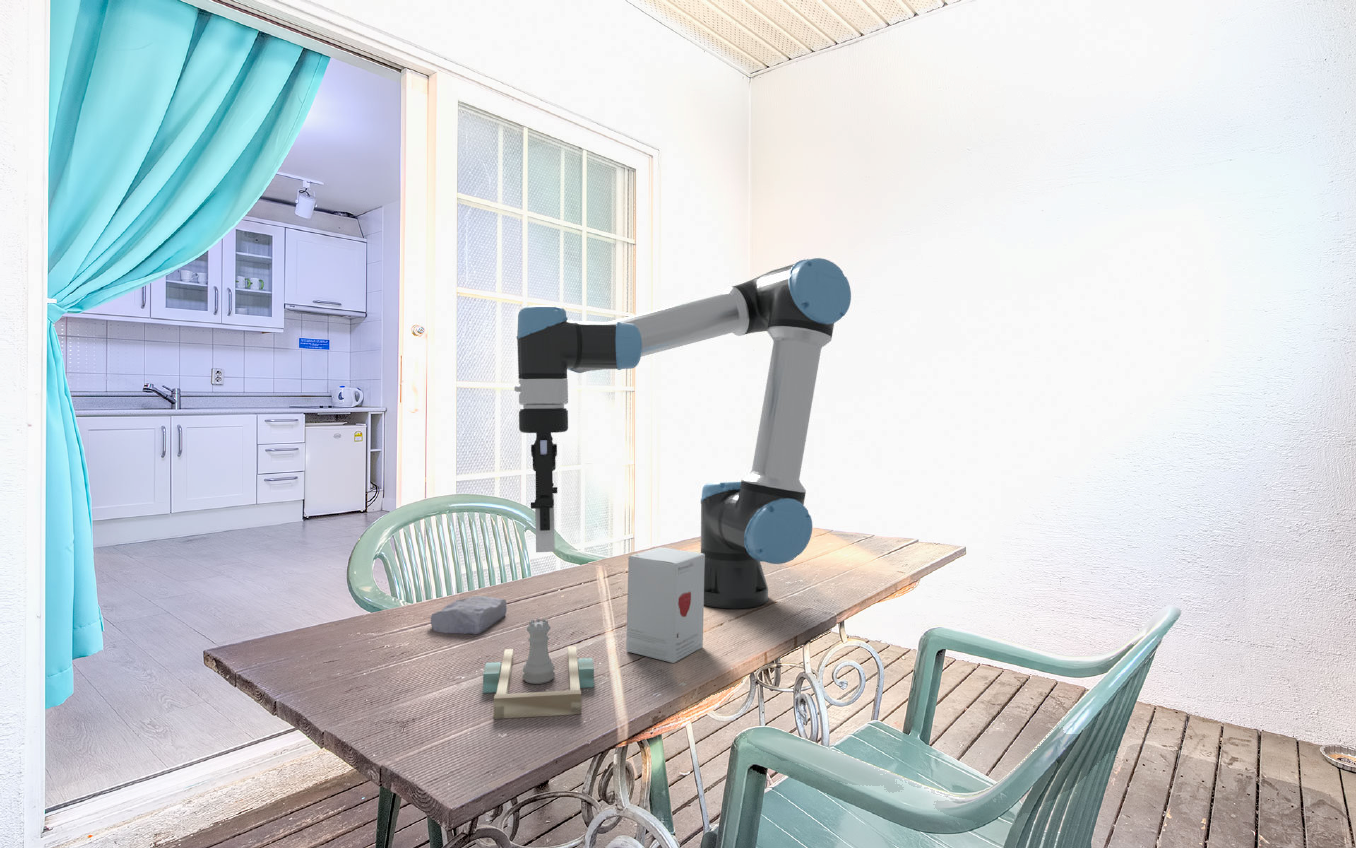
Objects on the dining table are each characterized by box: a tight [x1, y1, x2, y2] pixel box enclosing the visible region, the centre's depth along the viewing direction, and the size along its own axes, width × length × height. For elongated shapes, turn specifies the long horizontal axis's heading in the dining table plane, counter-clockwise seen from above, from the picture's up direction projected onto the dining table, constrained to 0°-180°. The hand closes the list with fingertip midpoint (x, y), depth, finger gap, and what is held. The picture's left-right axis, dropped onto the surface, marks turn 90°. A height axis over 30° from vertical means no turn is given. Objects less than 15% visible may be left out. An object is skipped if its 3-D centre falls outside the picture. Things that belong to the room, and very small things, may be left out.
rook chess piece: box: [522, 618, 556, 685], centre depth 98 cm, size 4×4×8 cm
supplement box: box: [625, 546, 705, 664], centre depth 110 cm, size 9×9×15 cm
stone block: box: [430, 595, 508, 635], centre depth 122 cm, size 12×5×10 cm
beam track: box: [482, 645, 595, 720], centre depth 96 cm, size 20×14×2 cm
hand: (545, 542), depth 111 cm, fingers open, 13 cm apart
